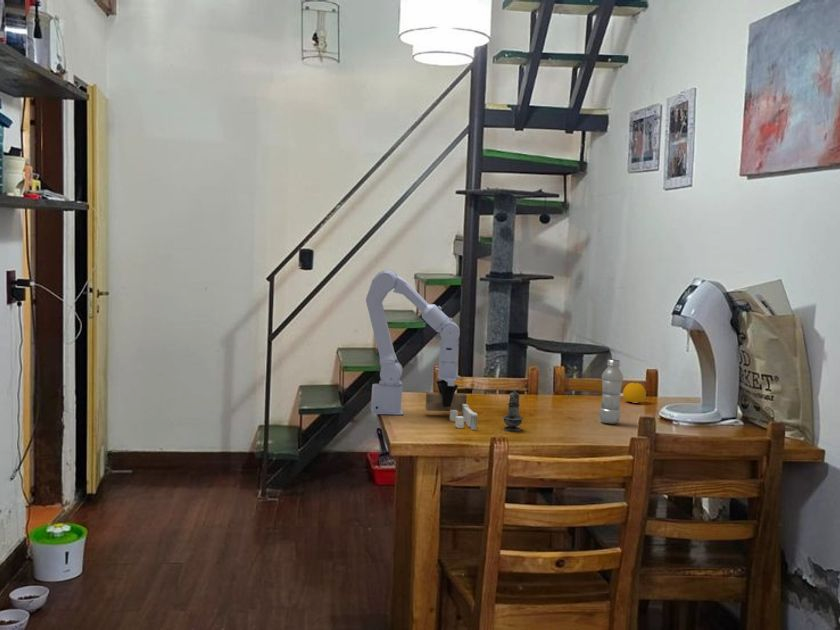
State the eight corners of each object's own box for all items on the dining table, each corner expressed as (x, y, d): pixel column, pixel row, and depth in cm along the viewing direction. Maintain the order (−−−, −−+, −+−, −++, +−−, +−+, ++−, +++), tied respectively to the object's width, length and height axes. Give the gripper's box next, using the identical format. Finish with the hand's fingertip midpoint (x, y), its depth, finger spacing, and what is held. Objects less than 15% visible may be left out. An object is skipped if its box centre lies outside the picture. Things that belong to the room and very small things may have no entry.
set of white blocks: (457, 429, 233) (458, 414, 233) (448, 418, 248) (449, 403, 248) (476, 429, 234) (477, 414, 234) (466, 418, 249) (467, 404, 249)
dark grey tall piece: (519, 427, 241) (521, 387, 240) (524, 432, 235) (527, 391, 234) (499, 427, 240) (502, 386, 239) (505, 431, 234) (507, 390, 233)
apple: (629, 405, 286) (630, 384, 286) (618, 400, 294) (620, 380, 293) (649, 405, 288) (651, 384, 288) (638, 401, 296) (640, 380, 295)
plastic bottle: (609, 426, 249) (614, 361, 247) (593, 421, 254) (598, 358, 253) (624, 425, 252) (629, 361, 250) (608, 420, 258) (613, 358, 256)
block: (427, 410, 248) (428, 394, 248) (425, 408, 252) (426, 392, 251) (465, 411, 250) (466, 395, 250) (463, 409, 253) (464, 393, 253)
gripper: (465, 365, 243) (462, 410, 244) (456, 358, 257) (453, 400, 258) (442, 364, 242) (439, 409, 243) (434, 357, 256) (432, 400, 257)
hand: (445, 405), depth 251 cm, fingers closed on block, 3 cm apart
